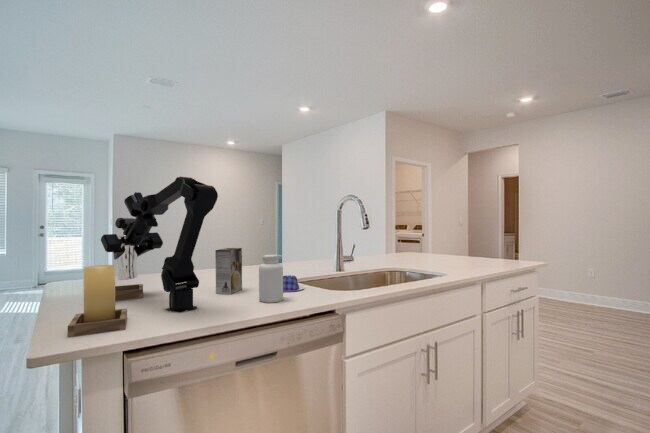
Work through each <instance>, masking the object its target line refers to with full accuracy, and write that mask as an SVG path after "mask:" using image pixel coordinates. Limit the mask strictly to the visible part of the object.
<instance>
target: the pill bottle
mask: <svg viewBox="0 0 650 433" xmlns="http://www.w3.org/2000/svg"><path fill="white" fill-rule="evenodd" d="M279 257H280V256H279V254H265V255H262V262H263V263H261V264H260V265H259V266H258V300H259V302H261V303H266V304H267V303H268V304H271V303H279V302H281V301H283V300H284V292H283V276H284V271H283V270H284V268H283V267H284V266H283V264H282V263H279V261H280V260H279Z"/></svg>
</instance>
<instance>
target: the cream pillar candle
mask: <svg viewBox="0 0 650 433" xmlns="http://www.w3.org/2000/svg"><path fill="white" fill-rule="evenodd" d="M115 286H116V265H115V264H101V265H100V264H99V265H98V264H97V265H89V266H84V267H83V313H84V323H88V322H96V321H104V320H112V319H115V310H116V300H115Z"/></svg>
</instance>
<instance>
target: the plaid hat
mask: <svg viewBox="0 0 650 433" xmlns="http://www.w3.org/2000/svg"><path fill="white" fill-rule="evenodd" d="M304 289H305V287H304V286H303V285H299V282H298V278H297V276H296V275H292V274H289V275H287V274H286V275H283V293H284V292H286V293H289V292H296V291H297V292H298V291H301V290H304Z"/></svg>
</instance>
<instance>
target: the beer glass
mask: <svg viewBox="0 0 650 433" xmlns="http://www.w3.org/2000/svg"><path fill="white" fill-rule="evenodd" d="M117 237H118V239H125V238H126V235H124V234H122V235H117ZM138 246H139V245H136V246H131V245H128V246H123V247H122V250H123V253H122V254H121V255H120V256H119V257H118V258H117V259H116V261H117V265H118V273H117V274H118V275H117V280H120V281H122V280H123V281H124V280H132V279H133V280H135V279H137V278H138V272H137V260H138V257H137V255H138Z"/></svg>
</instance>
